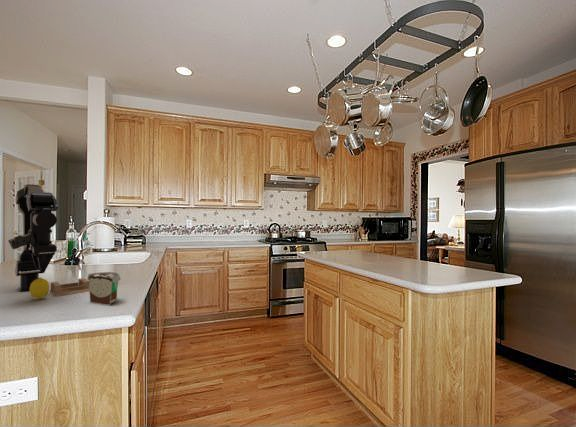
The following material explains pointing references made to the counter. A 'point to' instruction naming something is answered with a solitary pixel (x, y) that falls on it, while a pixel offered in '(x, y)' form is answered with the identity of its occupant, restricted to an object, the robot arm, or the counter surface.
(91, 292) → the food container
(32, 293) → the lemon
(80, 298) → the counter surface
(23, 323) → the counter surface
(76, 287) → the cradle
